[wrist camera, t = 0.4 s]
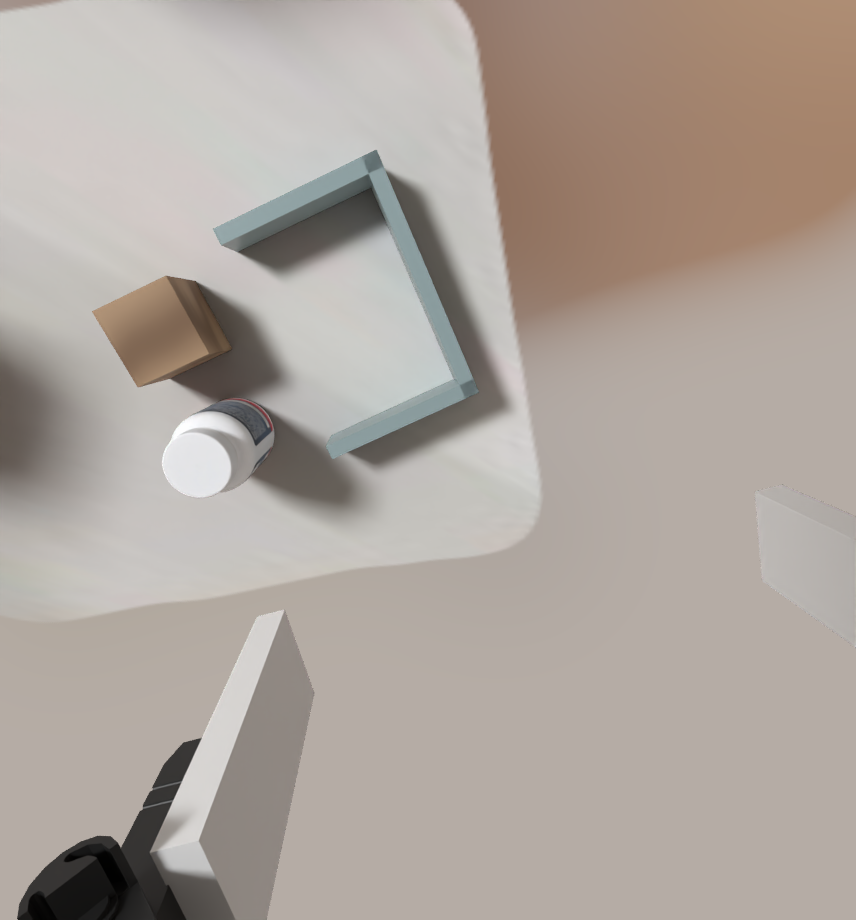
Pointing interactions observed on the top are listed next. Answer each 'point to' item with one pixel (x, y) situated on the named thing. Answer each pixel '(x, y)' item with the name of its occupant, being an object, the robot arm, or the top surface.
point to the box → (374, 176)
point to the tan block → (162, 329)
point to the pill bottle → (218, 448)
